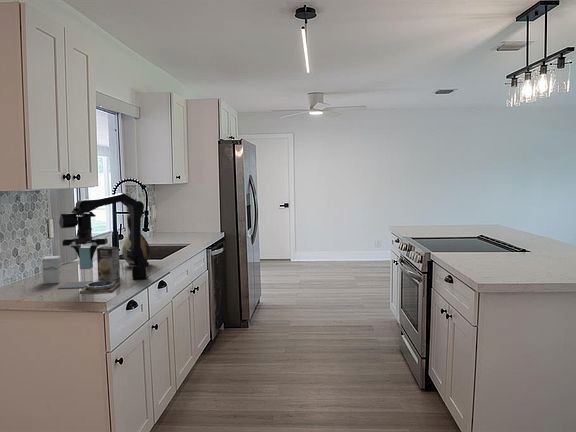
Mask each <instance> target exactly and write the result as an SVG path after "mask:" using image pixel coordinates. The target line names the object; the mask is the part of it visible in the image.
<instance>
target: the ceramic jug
mask: <svg viewBox="0 0 576 432" xmlns="http://www.w3.org/2000/svg"><path fill="white" fill-rule="evenodd" d="M126 220H127V225H128V228H129V229H128V230H129V234H128V235H127V237H126V238H125V240H124V243H123V245H122V251H121V254H122V258H123V260H124V261H125V262H126V263H127V264H128V266H129V267H131V268H133V267H134V266H132V264H131V263H130V262H129V261H128V258H126V257H127V250H130V248H131V217H130V215H129V214H128V216H127V217H126ZM141 248H142V251H143V254H144V259H145V260H146V261H147V262H148V260H149V259H150V256H151V248H150V245H149V242H148V241H147V240H146V238H145V237H144V236H143V234H142V233H141Z"/></svg>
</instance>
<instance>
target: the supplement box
mask: <svg viewBox="0 0 576 432" xmlns="http://www.w3.org/2000/svg"><path fill="white" fill-rule="evenodd" d="M61 257H62V256H61V255H52V256H51V255H47V256H44V257H42V258H41V264H42V265H41V266H42V267H41V268H42V284H43V285H45V284H59V283H61V281H62V280H63V279H62V258H61Z"/></svg>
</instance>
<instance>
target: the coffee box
mask: <svg viewBox="0 0 576 432" xmlns="http://www.w3.org/2000/svg"><path fill="white" fill-rule="evenodd" d="M96 262H97V279H98V280H102V281H115V280H117V279H119V278H120V277H121V276H120V275H121V273H120V271H121V270H120V247H118V246H106V245H105V246H104V245H103V246H101V247H97V248H96Z"/></svg>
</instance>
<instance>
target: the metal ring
mask: <svg viewBox="0 0 576 432" xmlns="http://www.w3.org/2000/svg"><path fill="white" fill-rule="evenodd" d="M115 283H116V282H115V281H114V280H97V281H93V282H91V283H88V284H86V290H108V289H111V288H113V287H114V286H115Z"/></svg>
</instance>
